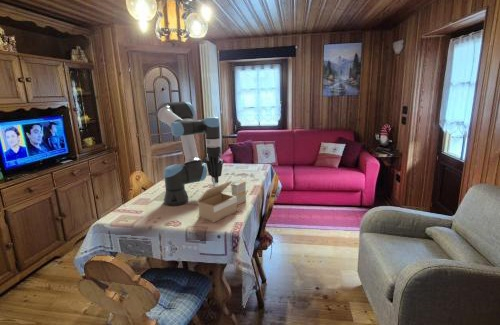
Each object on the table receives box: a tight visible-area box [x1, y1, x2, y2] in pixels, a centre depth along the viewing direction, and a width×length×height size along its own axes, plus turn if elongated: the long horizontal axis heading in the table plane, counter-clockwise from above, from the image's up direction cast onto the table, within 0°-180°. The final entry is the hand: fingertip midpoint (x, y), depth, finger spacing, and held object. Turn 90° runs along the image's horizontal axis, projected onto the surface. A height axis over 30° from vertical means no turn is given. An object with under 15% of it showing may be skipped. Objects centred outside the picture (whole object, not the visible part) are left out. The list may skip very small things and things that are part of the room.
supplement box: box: [230, 180, 247, 206], centre depth 174 cm, size 8×5×13 cm, turn 141°
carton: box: [197, 192, 238, 223], centre depth 158 cm, size 12×18×9 cm
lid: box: [197, 180, 233, 203], centre depth 157 cm, size 12×18×1 cm
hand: (215, 188), depth 156 cm, fingers closed
